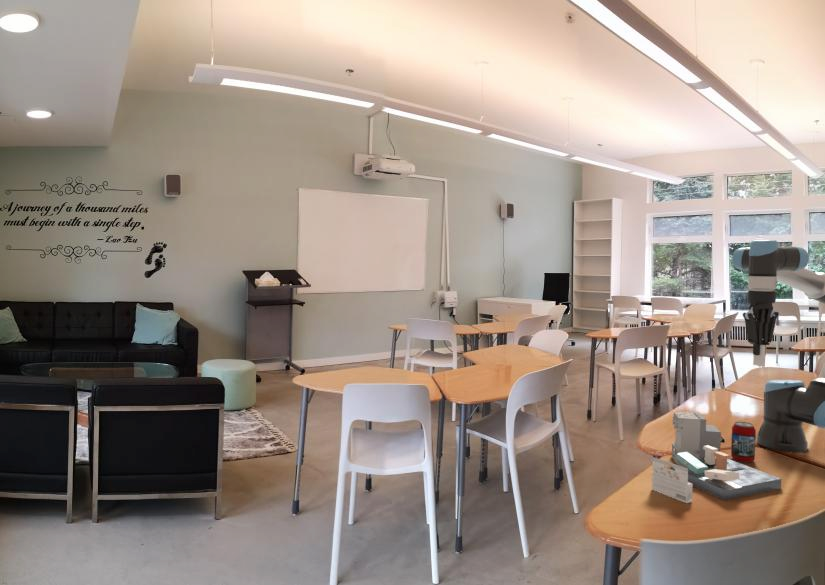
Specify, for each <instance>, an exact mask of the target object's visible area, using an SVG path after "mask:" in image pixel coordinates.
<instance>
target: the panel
mask: <svg viewBox="0 0 825 585" xmlns="http://www.w3.org/2000/svg"><path fill="white" fill-rule="evenodd" d="M701 462H702V463H703V464H705V465H706V466H707V467H708V469H707V470H712V469H716V458H715V464H713V465H709V464H707V463H705V461H701ZM677 465H679V466H682V467H685V468H688V467H686V466H685V465H684V464H677ZM669 469H671V470H674V471H675V469H674V468H673V467H672V466H671V465H670V467H669ZM727 471H732V472H739V478H740V479H738V480H732V481H725V480H719V479H712V478H706V477H705V473H699V474H695V473H694V472H693V471H692V470H690V469H689V468H688V482H689V483H692V484H693V486H694V488H696V489H698V490H700V489H701V491H702V490H704V491H706V492H708V493H707V494H709V493H710V494H709V495H711V494H712V495H711V496H713V495H714V496H713V497H715V498H718V499H720V500H722V501H728V500H733V499H738V498H743V497H749V496H752V495H758V494H763V493H768V491H769V492H773V490H774V491H778V490H782V478H780V477H778V476H775V475H773V474H770V473H767V472H764V471H762V470H759V469H757V468H754V467H751V466H749V465H746V464H743V463H742V462H741V463H740V462H739V461H736V460H732V459H727ZM704 491H703V492H704ZM706 492H705V493H706Z"/></svg>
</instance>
